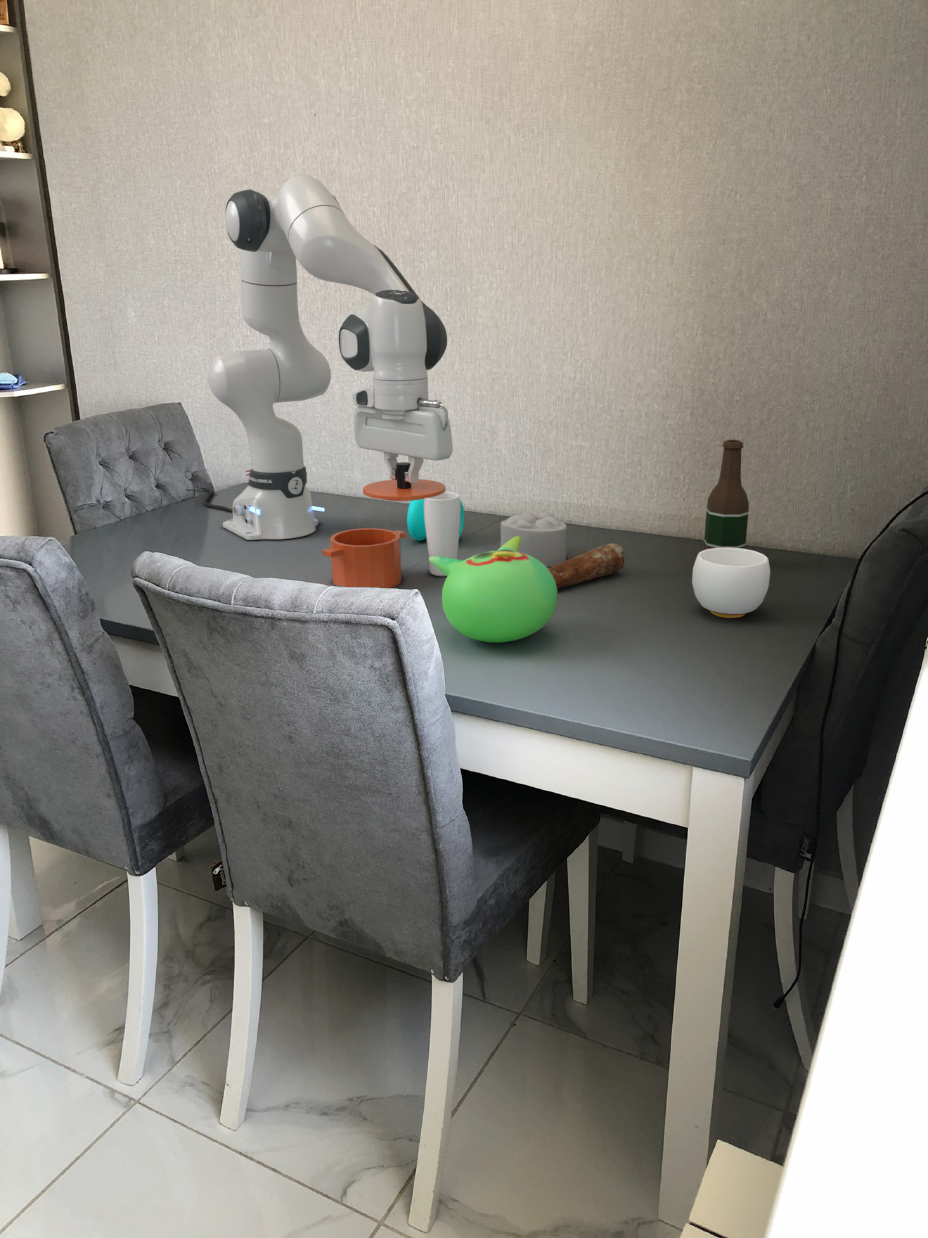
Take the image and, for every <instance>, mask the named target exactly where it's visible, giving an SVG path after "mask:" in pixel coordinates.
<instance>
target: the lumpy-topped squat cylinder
mask: <svg viewBox="0 0 928 1238" xmlns="http://www.w3.org/2000/svg"><path fill="white" fill-rule="evenodd" d="M567 534H568V527H567V524H566V523H565V522H563V521H562V520H559V519H558V518H557V517H555V516H554V515H553V514H552V512H548V511H541V513H539V514H538V515H535V514H534V513H531V512H529V511H524V512H521V513H519V514H515V515H512V516H510V517H508V518H507V519H504V520H502V521H501V522H500V547H502V546H503V545H504V544H505V543H506V542H508V541H509V540H510V539H512V538H514V537H516V536H519V537H521V542H520V546H519V549H518V552H520V553H524V554H527V555H530V556H532V557H534V558H536V559H537V560H539V561H540V562H542V563H543V564H544V565H545V566H546V567H547V568H551V567H553V566H555V565H557V564H559V563H562V562H564V561H567V539H568V535H567Z"/></svg>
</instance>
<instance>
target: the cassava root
mask: <svg viewBox="0 0 928 1238" xmlns="http://www.w3.org/2000/svg"><path fill="white" fill-rule="evenodd" d="M624 565H625V557H624V546H622V545H620V544H617V543H614V542H612V543H608V544H605V545H601V546H598V547H596V548H593V549H590V550H588V551H586V552H583V553H580V554H578V555H576V556H573V557H571V558H569V559H566V561H564V562H562V563H559V564H557V565H555V566H551V567H548V570H549V571H550V572H551V574H552V576H553V578H554V580H555V583H556V587H557V590H558V589H562V588H566V587H570V586H574V585H577V584H581V583H583V582H586V581H591V580H595V579H597V578H602V577H605V576H609V575H612V574H615V573H616V572H619V571H621V570H622V569H623V568H624Z"/></svg>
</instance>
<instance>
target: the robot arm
mask: <svg viewBox="0 0 928 1238" xmlns="http://www.w3.org/2000/svg"><path fill="white" fill-rule="evenodd" d="M224 213H225V214H224V215H225V217H224V219H225V220H224V221H225V227H226V231H227V235H228V238H229V240H230V241H231V243H232V244H233V245H234V246H235V247H236V248H237V249H239V250H241V257H240V292H241V293H240V294H241V296H240V299H241V315H242V318H243V321H244V322H245V323H246V324H247V325H248V327H250V328H251V329H253V330H254V331H256V332H258V333H260V334H263V335H264V336H267V337H268V338H269V343H270V348H267V349H251V350H250V349H248V350H235V351H231V352H228V353H224V354H221V355H217V356H216V357H215V358H214V359H213V361H212V362H211V363H210V366H209V369H208V375H207V376H208V377H207V378H208V384H209V388H210V390H211V392H212V394H213V395H214V397H215V398H216V399H217V400H218V401H219V402H221V404H223V405H225V406H226V407H228V408H229V409H230V410H231V411H232V412H234V414H235V415H236V416H237V417H238V419H239V420H240V421H241V423H242V425H243V427H244V430H245V432H246V437H247V440H248V441H247V442H248V446H249V453H250V462H251V469H249V470H245V473H247V474H245V476H246V477H248V481H247V487H246V488H244V490H243V491H242V492H241V493H240V494H239V495H238V496H237V497H235V499H234V500H233V502H232V508H230V507H227V506H223V505H218V504H212V503H210V502H208V501H209V500H210V498H211V496H213V494H214V491H213V490H212V489H211V488H208V487H206V488H207V489H206V488H200V489H201V490H203V491H206V492H208V494H206V496H205V498H204V499H203V501H202V503H203V504H204V505H205V506H206V507H208V508H213V509H216V510H223V511H227V512H228V513H232V518H230V519H228V520H225V521H223V522H222V528H224V529H226V530H227V531H230V532H232V533H233V534H235V535H237V536H239V537H240V538H243V539H245V540H247V541H257V540H258V541H259V540H288V539H295V538H300V537H305V536H308V535H311V534H313V533H314V532H316V530H317V528H316V527H317V526H318V525H319V520H318V519H317V518H316V517H315V512H314V511H319V512H325V507H318V506H314V505H313V500H312V495H311V494H312V493H311V490H310V489H309V488H308V487H307V484H308V472H307V467H306V466H305V464H304V449H303V448H304V447H303V436H302V432H301V431H300V429H299V428H298V427H297V425H295V424H293V422H290V421H288V420H286V419H284V418H281V417H278V416H277V414H276V413H275V409H274V404H276V403H277V404H279V403H288V402H289V403H290V402H291V403H292V402H303V401H308V400H311V399H314V398H317V397H321V396H323V395H325V393H326V392H327V390H328V389H329V386H330V384H331V379H332V371H331V366H330V363H329V360H328V359H327V358H326V356H325V355H324V354H323V353H322V352H321V351H320V350H319V349H317V348H316V347H315V346H314V345H313V344H312V343H311V342H310V341H309V339H308V338H307V337H306V335H305V332H304V331H303V327H302V325H301V320H300V316H299V303H298V267H297V262H298V263H299V265H300V266H301V267H302V268H303V270H305V271H306V272H307V273H308V274H310V276H313V277H314V278H315V279H319V280H321V281H326V282H329V283H335V284H341V285H347V286H351V287H355V288H357V289H362V290H364V291H366V292H368V293H370V294H372V297H371V300H370V304H368V305H367V306H366V307H364V308H362V310H359V311H358V312H355V313H351V314H349V315H348V316H347V317H346V318H345V319H344V321H343V322H342V323H341V326H340V328H339V330H338V349H339V354H340V357H341V359H342V360H343V361H344V362H345V363H346V364H347V366H348V367H350V368H351V369H352V370H354V371H358V372H363V373H368V372H369V373H370V372H373V374H372V385H369V386H367V387H365V388H362V389H359V390H357V391H354V393H353V394H352V402H353V404H354V406H356V407H355V409H354V412H353V431H354V439H355V440H354V441H355V443H356V445H357V446H358V448H359V449H364V450H369V451H375V452H381V453H383V460H384V462H385V464H386V466H387V468H388V470H389V471H388V472H389V473H388V474H389V480H397V472H396V464H397V463H399V461H398V459H397V458H399V456H403V457H404V456H405V457H407V458H408V460H407V461H408V463H411V465H410V468H409V471H407V472H405V477H406V478H405V481H406V482H408V483H417V482H418V481H419V479H420V478H419V477H420V476H419V474H420V473H419V472H420V470H421V468H422V466H423V464H424V460H429V461H434V462H437V461H443V460H447V459H450V457H451V456H452V454H453V453H454V448H453V436H452V428H451V423H450V419H449V412H448V409H447V408H446V406H445V405H444V404H443V403H442V401H440V400H438V399H435V400H431V399H429V377H428V371H430V370H432V369H433V368H434V367H435V366H436V365H437V364H438V363H439V362H440V361H441V359H442V358H443V356H444V354H445V353H446V350H447V347H448V334H447V330H446V327H445V325H444V323H443V321H442V320H441V318H440V316H438V314H437V313H436V312H435V311H434V310H433V309H432V308H431V307H429V306H428V305H427V304H425V302H424V301H423V300H422V299H421V298H420V296H419V295H418V293H416V292H415V289H413V288H412V286H411V285H410V284H409V282H408V281H407V280H406V278H405V277H404V276H403V274H402V273H401V272H400V270H399V269H398V267H397V266H396V264H394V262H393V261H392V260H391V258H389V256H388V255H387V254H386V253H385V252H384V251H383V250H382V249H380V248H379V247H378V246H377V245H375V244H373V243H372V242H371V241H369V239H366V238H365V236H363V235H362V234H361V233H360V232H359V231H358V230H357V228H355V227H354V226H353V225H352V223H350V221H349V219H348V218H347V216H346V215H345V213H344V211H343V209H342V208H341V205H340V204H339V202H338V200H337V198H336V196H334V195H333V194H332V193H331V192H330V191H329V189H328V188H327V187H326V186H325V185H324V184H323V182H321V181H320V180H319V179H318V178H316V177H314V176H312V175H306V174H299V175H295V176H293V177H291V178H289V179H288V180H286V181H285V182H284V183H283V185H282V186H280V188H265V189H257V190H253V189H251V188H250V189H243V190H239V191H237V192H234V193H233V194H231V195H230V197H229V198H228V200H227V202H226V205H225V212H224ZM196 488H198V487H196ZM198 489H199V488H198Z"/></svg>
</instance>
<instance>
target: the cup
mask: <svg viewBox="0 0 928 1238" xmlns="http://www.w3.org/2000/svg"><path fill="white" fill-rule="evenodd" d="M769 561H770V560H769V558H768V557H767V556H766V555H765V554H763V553H761V552H759V551H756V550H752V549H746V548H745V549H741V548H712V549H706V550H704V551H703V550H702V551H699V552H698V553H697V556H696V557H695V560H694V564H693V567H692V576H691V584H692V585H691V586H692V589H693V593H694V597H695V598H696V600H697V601H698V603H699V604H700V606H701V607H702V608H704V609H706V610H708V611H709V612H710V613H711V614H712V615H714V616H716V617H720V618H726V619H737V618H742V617H744V616H745V615H746V614H747V613H751V612H753V611H755V610H757V609H758V608H759V607H760V606H761V604H763V602H764V599H765V598H766V596H767V592H768V590H769V587H770V578H771V567H770V562H769Z"/></svg>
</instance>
